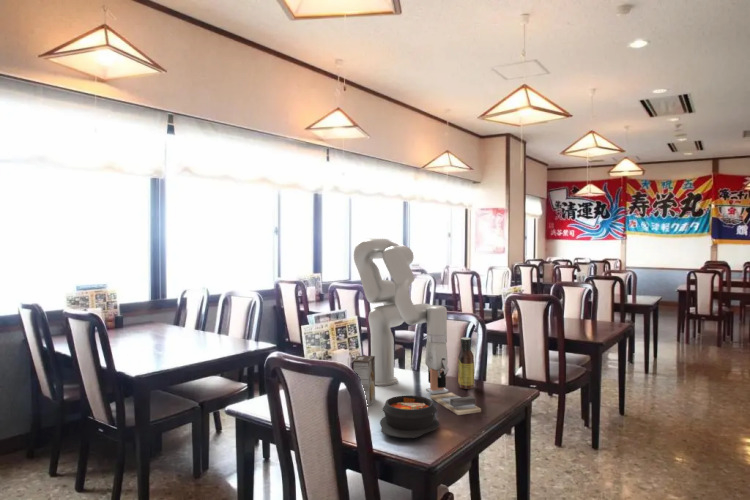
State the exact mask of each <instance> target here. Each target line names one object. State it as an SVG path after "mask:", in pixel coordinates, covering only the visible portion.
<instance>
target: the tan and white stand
mask: <svg viewBox="0 0 750 500" xmlns="http://www.w3.org/2000/svg"><path fill="white" fill-rule="evenodd" d="M440 369H442V368H441V367H440ZM440 372H442V371H440ZM438 377H439V376H438V371H437V370H434V369H430V383H429V386H430V387H428V388H427V387H426V388H425V391H426V392H427V393H429V394H430V395H438V394H446V393H449V389H447V388H446V387H444V388H438Z"/></svg>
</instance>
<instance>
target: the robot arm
mask: <svg viewBox="0 0 750 500" xmlns="http://www.w3.org/2000/svg"><path fill="white" fill-rule="evenodd" d="M353 250H354V251H353V260H354V263H355V266H356V269H357V271H358V274H359V278H360V281H361V285H362V288H363V292H364V295H365V299H366V300H367V302H368V303H369V304H374V305H375V304H383V305H378V306H375V307H374V308H372V309H371V310H370V311H369V313H368V325H369V331H370V356H375V386H378V387H379V386H380V387H381V386H384V387H385V386H391V385H392V386H393V385H395V384H397V383H398V382H399V380H398V377H396V376H395V361H394V360H395V343H394V339H395V338H394V335H393V332H392V329H391V328H395V327H399V326H400V325H403V323H406V324H407V325H409V326H414V325H420V324H425V323H426V346H425V357H424V358H425V360H424V361H425V363H424V365H425V366H426V367H427V372H428V376H427V377H428V380H427V382H428V383H429V384H430V369H434V370H437V371H438V376H439V377H438V388H446V386H447V379H446V378H447V375H448V372H449V370H450V368H449V366H448V349H447V348H448V347H447V342H448V338H447V337H448V335H447V334H448V332H447V331H448V329H447V328H448V327H447V326H448V324H447V323H448V321H447V320H448V317H447V316H448V314H447V313H448V311H447V310H448V309H447V307H446V306H443V305H434V304H431V303H425V302H422V303H416V304H414V302H413V301H412V299H411V295H410V290H409V289H410V286H411V285H412V284H413V282H414V281H415V278H416V277H415V275H414V273H413V270H412V268H411V266H410V265H411V264H412V263H413V261H414V252H413V251H412V249H411V248H410V247H408V246H407V245H405V244H402V243H398V242H397V241H393V240H391V239H388V238H366V239H362V240H359V242H357V243H356V246H355V247H354V249H353ZM373 259H382V260H383V262H384V265H385V266H386V269H387V271H388V274H389V275H390V277H391V279H392V280H389V279H382V276H381V272H380V269H379V268H378V266H377V264H376V263H375V262H374V261H373ZM440 368H442V369H440ZM440 371H442V372H440Z"/></svg>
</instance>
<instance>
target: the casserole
mask: <svg viewBox="0 0 750 500" xmlns="http://www.w3.org/2000/svg"><path fill="white" fill-rule="evenodd" d="M433 401H434V400H433V399H431V398H427V397H426V396H419V395H408V394H407V395H398V396H397V395H396V396H392V397H390V398H387V400H386V401H385V403H384V405H383V406H382V412H383V413H384V416H383V417H382V418H381V419H380V420H379V425H380V427H381V431H380V432H381V433H382V434H383V435H386V436H389V437H393V438H398V439H400V438H401V439H416V438H420V437H421V436H423V435H425V434H427V433H430V432H432V431H435V430H436V429H438V428H439V427H440V422H439V420H438V419H437V416H436V413H437V407H436V406H435V404H434V402H433Z"/></svg>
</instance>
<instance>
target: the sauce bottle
mask: <svg viewBox="0 0 750 500" xmlns="http://www.w3.org/2000/svg"><path fill="white" fill-rule="evenodd" d="M471 343H472V338H471V337H468V336H467V337H466V336H463V337H461V338H460V345H461V346H460V350H459V351H460V352H459V354H458V358H457V364H458V365H457V366H458V367H457V368H458V370H457V372H458V381H457V382H458V387H459V388H460V389H463V390H471V389H474V387H475V360H474V359H475V357H474V353H473V351H472V347H471V346H472V345H471Z"/></svg>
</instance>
